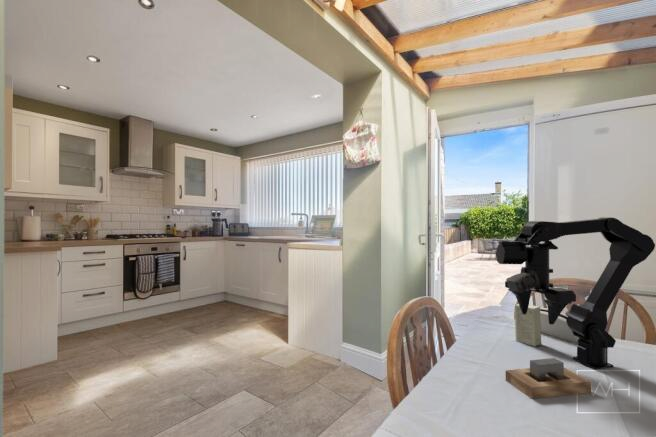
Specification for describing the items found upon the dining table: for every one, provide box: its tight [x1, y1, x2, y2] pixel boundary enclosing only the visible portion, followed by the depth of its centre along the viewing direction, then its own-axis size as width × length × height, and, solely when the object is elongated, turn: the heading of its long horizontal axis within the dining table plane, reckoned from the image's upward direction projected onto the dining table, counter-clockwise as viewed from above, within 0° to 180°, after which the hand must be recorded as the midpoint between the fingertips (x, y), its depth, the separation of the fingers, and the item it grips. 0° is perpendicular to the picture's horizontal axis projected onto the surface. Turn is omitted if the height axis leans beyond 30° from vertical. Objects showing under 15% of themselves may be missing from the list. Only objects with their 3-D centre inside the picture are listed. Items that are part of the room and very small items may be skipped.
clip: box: [529, 357, 565, 382], centre depth 74 cm, size 7×2×6 cm, turn 100°
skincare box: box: [514, 303, 542, 347], centre depth 101 cm, size 6×4×12 cm
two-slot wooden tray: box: [505, 367, 592, 400], centre depth 74 cm, size 16×8×2 cm, turn 100°
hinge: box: [540, 307, 579, 344], centre depth 108 cm, size 17×5×10 cm, turn 26°
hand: (537, 318), depth 88 cm, fingers open, 9 cm apart
